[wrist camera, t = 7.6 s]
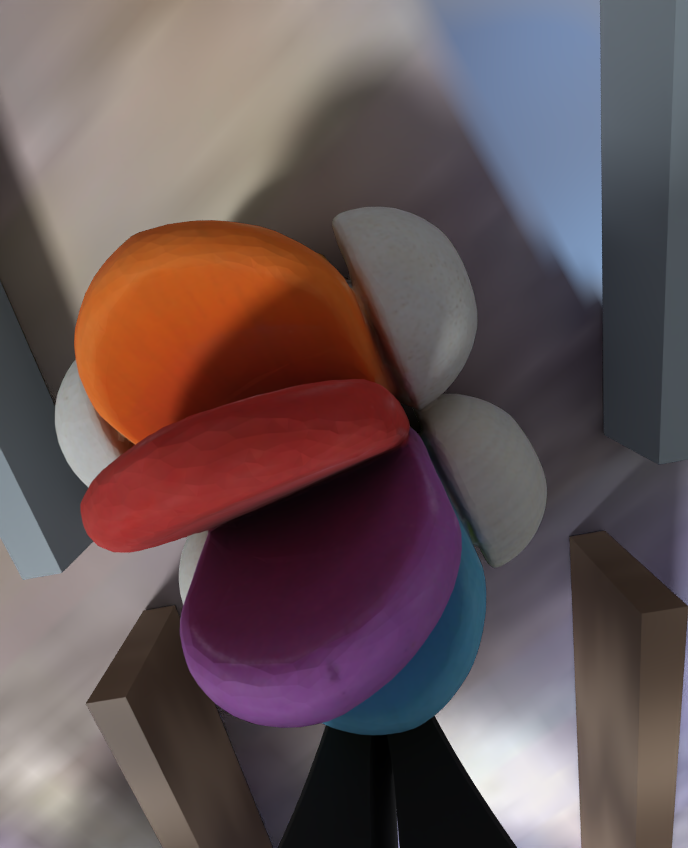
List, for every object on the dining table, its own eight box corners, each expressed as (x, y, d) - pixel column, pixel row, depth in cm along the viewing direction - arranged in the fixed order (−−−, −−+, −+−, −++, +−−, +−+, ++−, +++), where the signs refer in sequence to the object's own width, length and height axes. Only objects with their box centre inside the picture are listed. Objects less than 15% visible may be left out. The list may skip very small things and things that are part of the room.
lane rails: (607, 880, 17) (661, 1000, 14) (279, 922, 18) (267, 1043, 15) (604, 530, 12) (687, 606, 9) (143, 610, 13) (86, 703, 10)
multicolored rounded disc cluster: (387, 161, 9) (526, -252, 2) (526, 506, 12) (787, 807, 5) (79, 332, 10) (-464, 415, 3) (270, 613, 13) (187, 981, 6)
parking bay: (642, 427, 11) (705, 455, 9) (74, 533, 12) (22, 579, 10) (657, -282, 7) (776, -499, 5) (-195, -44, 8) (-366, -151, 6)
